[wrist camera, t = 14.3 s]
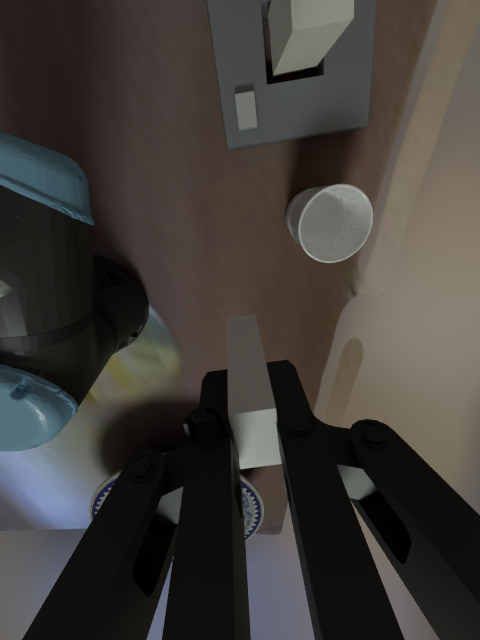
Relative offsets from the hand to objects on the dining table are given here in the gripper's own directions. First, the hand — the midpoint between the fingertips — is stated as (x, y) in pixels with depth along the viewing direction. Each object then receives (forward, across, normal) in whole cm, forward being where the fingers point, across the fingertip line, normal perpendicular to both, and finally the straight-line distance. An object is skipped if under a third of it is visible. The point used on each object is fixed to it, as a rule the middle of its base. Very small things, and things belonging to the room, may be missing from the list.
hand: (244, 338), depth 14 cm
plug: (+26, +9, +19) cm, 34 cm away
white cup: (+27, +11, +2) cm, 29 cm away
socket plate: (+26, +9, +19) cm, 34 cm away
